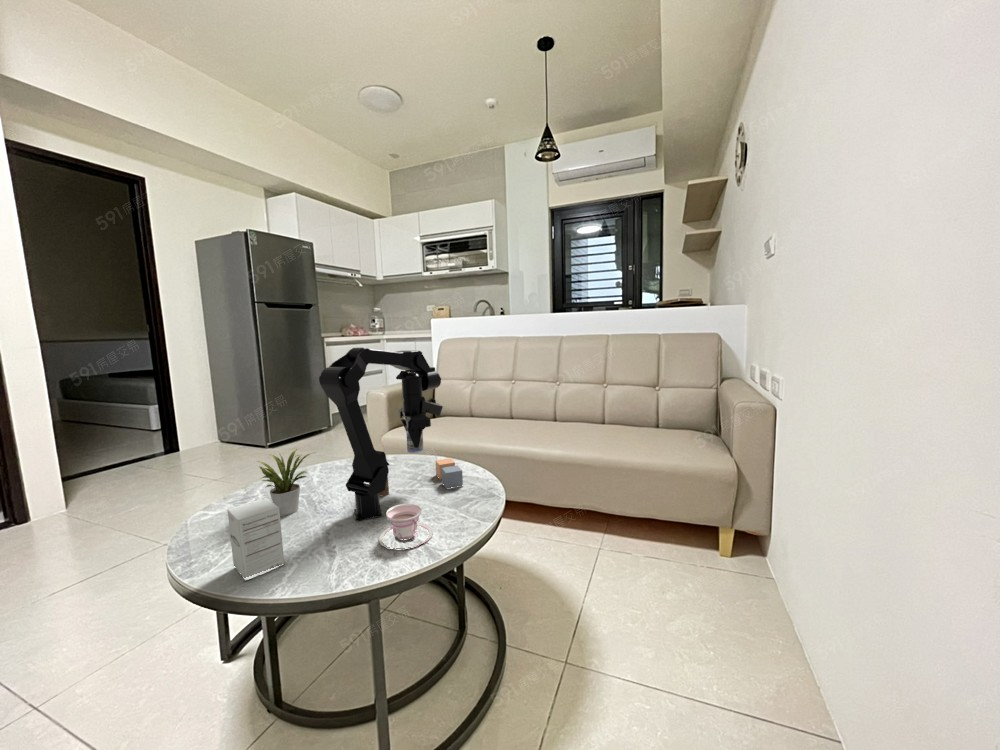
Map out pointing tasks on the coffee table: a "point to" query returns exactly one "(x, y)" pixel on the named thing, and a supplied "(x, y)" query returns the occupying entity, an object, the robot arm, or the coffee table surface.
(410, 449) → the pill bottle
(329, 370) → the robot arm
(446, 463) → the terracotta block
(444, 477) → the slate-grey block
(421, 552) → the coffee table surface
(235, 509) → the supplement box
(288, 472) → the house plant
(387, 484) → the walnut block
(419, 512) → the teacup
